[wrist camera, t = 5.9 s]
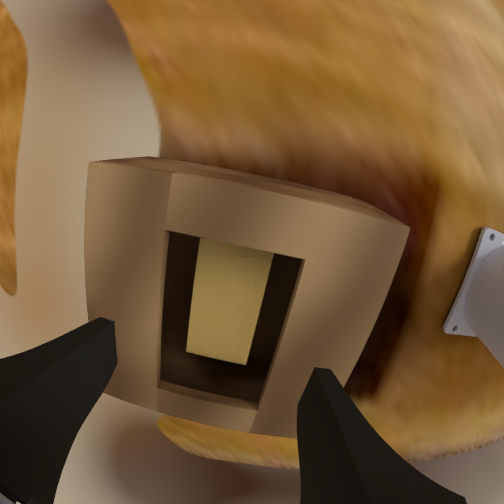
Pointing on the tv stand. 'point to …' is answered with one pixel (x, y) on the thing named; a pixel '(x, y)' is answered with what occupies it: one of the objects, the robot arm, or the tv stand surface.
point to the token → (226, 299)
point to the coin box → (275, 296)
